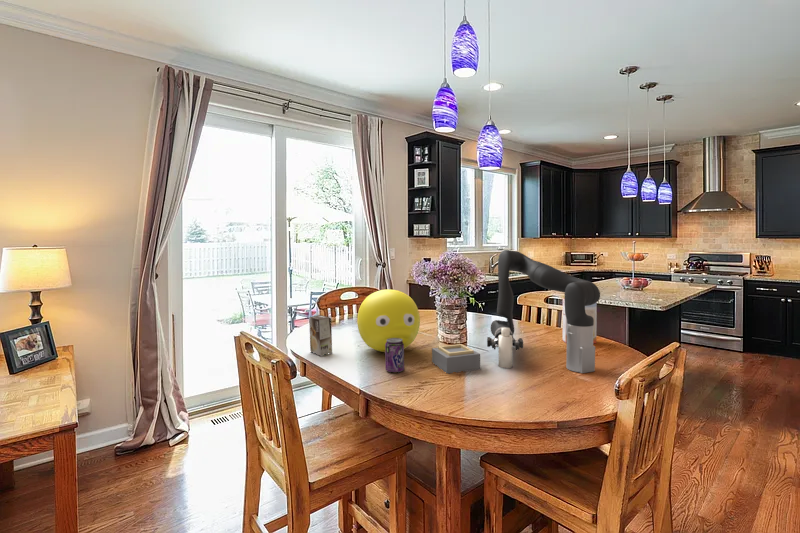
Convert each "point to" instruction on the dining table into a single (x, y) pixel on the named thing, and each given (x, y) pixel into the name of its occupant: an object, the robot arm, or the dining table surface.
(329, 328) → the coffee box
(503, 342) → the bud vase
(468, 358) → the display riser
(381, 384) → the dining table surface
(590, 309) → the cracker box
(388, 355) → the beverage can
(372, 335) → the head sculpture
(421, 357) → the dining table surface
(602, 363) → the dining table surface
